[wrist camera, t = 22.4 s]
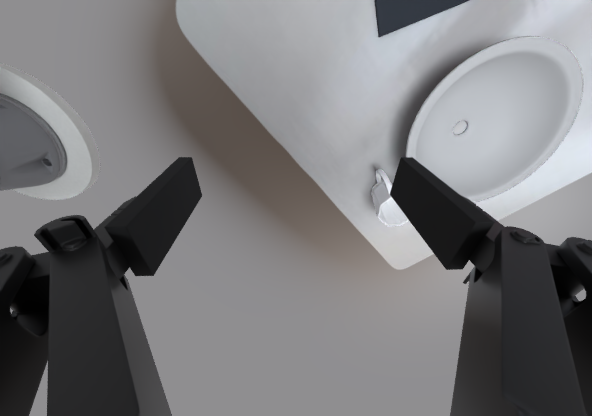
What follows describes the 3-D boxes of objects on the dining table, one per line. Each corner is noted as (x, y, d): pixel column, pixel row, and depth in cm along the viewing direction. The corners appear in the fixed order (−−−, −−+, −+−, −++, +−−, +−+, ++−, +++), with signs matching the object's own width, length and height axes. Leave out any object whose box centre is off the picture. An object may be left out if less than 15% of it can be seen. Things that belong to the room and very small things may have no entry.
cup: (369, 209, 47) (382, 232, 40) (355, 170, 42) (368, 189, 35) (402, 197, 46) (421, 218, 39) (391, 155, 41) (411, 171, 34)
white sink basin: (398, 56, 33) (420, 53, 27) (566, 29, 31) (626, 19, 26) (385, 195, 45) (398, 212, 40) (505, 180, 44) (537, 195, 38)
